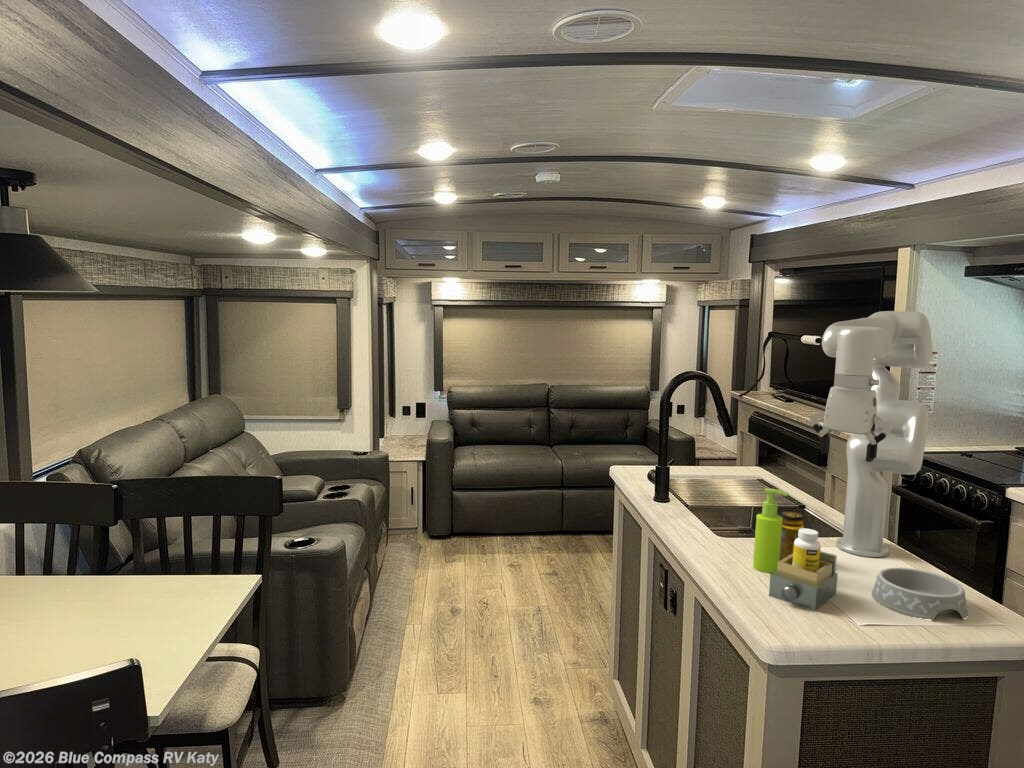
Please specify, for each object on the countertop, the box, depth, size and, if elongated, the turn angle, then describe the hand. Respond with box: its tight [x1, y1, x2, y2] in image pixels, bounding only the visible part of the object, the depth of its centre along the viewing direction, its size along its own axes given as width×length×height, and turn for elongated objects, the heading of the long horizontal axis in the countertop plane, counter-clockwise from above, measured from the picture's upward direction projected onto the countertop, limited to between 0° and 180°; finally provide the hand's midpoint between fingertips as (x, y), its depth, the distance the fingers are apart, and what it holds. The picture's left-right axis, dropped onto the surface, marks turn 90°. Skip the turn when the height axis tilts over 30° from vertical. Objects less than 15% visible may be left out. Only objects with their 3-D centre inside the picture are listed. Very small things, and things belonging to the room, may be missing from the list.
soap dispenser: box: [752, 487, 790, 574], centre depth 159 cm, size 6×7×20 cm
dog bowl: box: [871, 567, 969, 621], centre depth 143 cm, size 17×18×5 cm
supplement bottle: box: [792, 527, 821, 572], centre depth 144 cm, size 5×5×10 cm
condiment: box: [779, 511, 805, 561], centre depth 166 cm, size 7×8×12 cm
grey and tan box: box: [768, 550, 838, 612], centre depth 144 cm, size 14×10×9 cm
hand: (846, 457), depth 148 cm, fingers open, 9 cm apart
